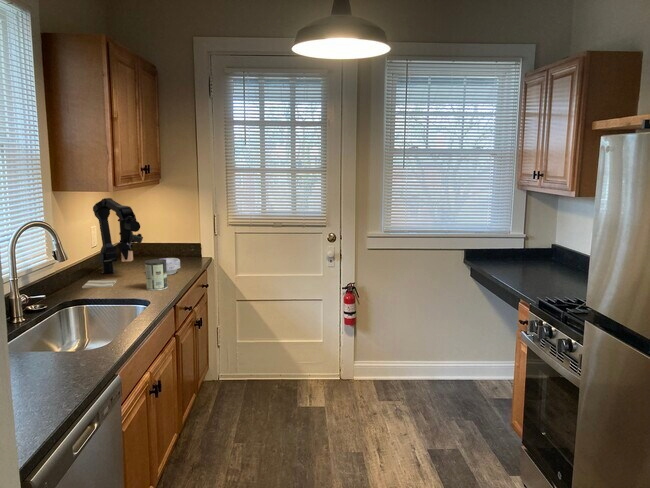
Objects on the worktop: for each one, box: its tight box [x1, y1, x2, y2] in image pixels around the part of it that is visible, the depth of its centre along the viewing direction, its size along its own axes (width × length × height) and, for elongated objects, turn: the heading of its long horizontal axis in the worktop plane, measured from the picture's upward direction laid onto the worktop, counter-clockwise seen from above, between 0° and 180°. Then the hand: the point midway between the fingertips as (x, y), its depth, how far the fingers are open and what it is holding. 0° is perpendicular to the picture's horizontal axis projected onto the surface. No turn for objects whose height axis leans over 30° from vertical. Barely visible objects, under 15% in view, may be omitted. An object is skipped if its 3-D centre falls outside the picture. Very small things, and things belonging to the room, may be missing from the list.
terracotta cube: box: [120, 250, 134, 262], centre depth 280 cm, size 5×5×5 cm
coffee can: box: [144, 258, 168, 292], centre depth 260 cm, size 10×10×14 cm
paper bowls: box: [162, 257, 181, 276], centre depth 294 cm, size 15×15×8 cm
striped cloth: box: [81, 278, 118, 289], centre depth 269 cm, size 14×14×1 cm
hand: (127, 258), depth 281 cm, fingers closed on terracotta cube, 5 cm apart
